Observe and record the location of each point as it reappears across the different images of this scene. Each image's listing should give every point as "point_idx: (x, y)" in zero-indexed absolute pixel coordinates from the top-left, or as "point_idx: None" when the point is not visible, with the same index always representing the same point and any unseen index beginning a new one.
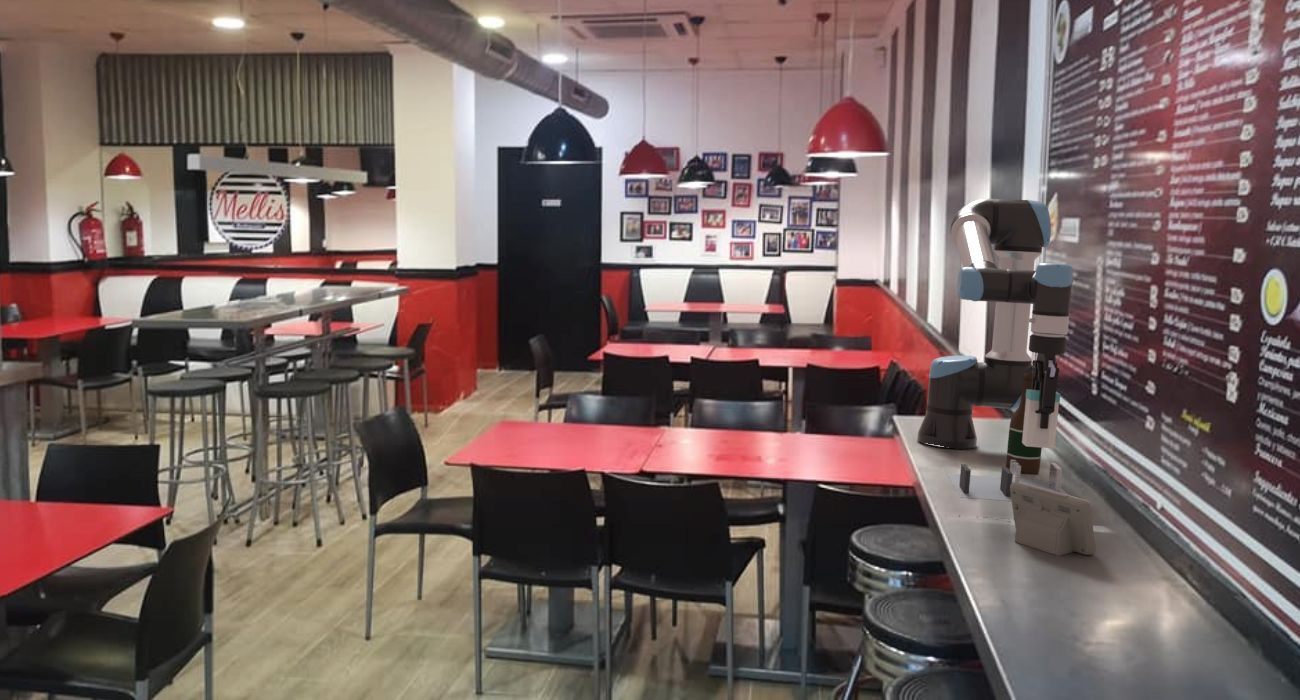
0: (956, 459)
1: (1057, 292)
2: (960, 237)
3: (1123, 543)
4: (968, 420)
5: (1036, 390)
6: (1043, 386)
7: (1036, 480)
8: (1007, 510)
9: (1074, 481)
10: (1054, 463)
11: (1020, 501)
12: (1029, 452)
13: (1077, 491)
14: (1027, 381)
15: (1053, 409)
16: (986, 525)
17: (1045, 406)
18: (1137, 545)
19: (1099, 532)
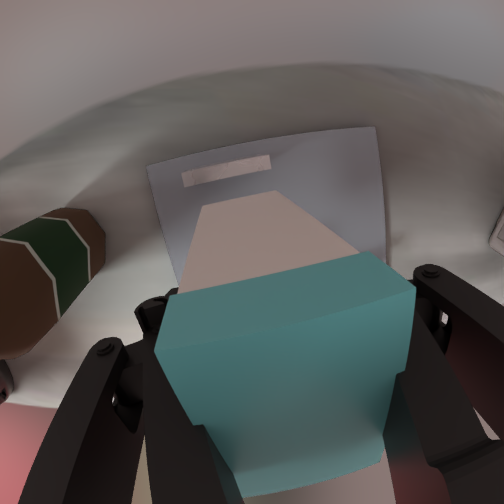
0: (53, 358)
1: None
2: None
3: (488, 111)
4: None
5: (269, 468)
6: (494, 431)
7: (161, 210)
8: (408, 260)
9: (77, 124)
10: (190, 175)
11: None
12: (80, 251)
13: (178, 110)
14: None
15: (446, 274)
16: (469, 281)
17: (449, 325)
18: (488, 95)
19: (465, 127)
